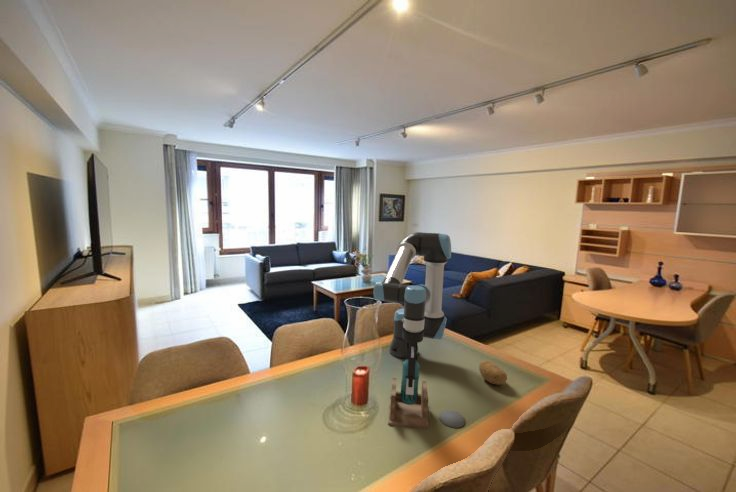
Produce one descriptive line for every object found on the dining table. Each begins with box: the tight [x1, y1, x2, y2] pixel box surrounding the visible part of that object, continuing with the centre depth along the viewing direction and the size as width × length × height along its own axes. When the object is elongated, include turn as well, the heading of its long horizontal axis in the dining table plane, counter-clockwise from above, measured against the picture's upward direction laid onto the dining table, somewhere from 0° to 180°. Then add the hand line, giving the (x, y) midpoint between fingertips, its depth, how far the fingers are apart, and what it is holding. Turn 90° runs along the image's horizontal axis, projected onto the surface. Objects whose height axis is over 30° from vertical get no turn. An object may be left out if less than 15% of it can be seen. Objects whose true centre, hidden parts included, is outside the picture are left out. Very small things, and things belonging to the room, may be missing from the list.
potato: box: [478, 359, 508, 386], centre depth 144 cm, size 10×14×8 cm
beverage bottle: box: [399, 354, 420, 405], centre depth 118 cm, size 6×7×20 cm
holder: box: [387, 377, 429, 430], centre depth 119 cm, size 16×14×10 cm
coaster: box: [438, 409, 466, 429], centre depth 117 cm, size 9×9×1 cm
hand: (409, 388), depth 119 cm, fingers closed on beverage bottle, 6 cm apart
